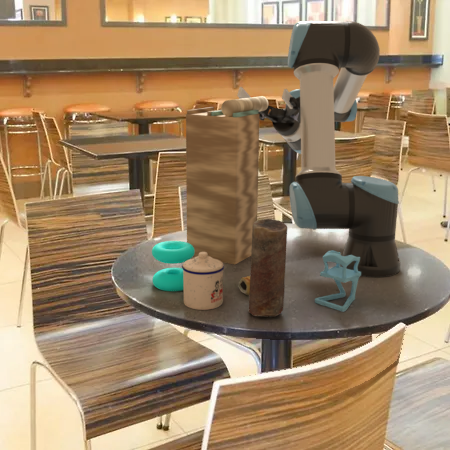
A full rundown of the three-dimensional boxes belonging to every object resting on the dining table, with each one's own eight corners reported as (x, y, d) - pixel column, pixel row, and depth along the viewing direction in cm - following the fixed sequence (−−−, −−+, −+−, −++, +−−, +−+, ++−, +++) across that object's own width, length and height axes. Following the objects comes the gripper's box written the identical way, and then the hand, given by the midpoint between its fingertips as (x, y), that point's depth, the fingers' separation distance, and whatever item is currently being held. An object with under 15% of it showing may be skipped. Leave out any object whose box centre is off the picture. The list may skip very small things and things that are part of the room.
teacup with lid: (219, 312, 140) (219, 260, 137) (177, 309, 141) (177, 257, 138) (229, 292, 151) (230, 244, 148) (191, 289, 153) (191, 241, 150)
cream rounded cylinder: (253, 107, 179) (258, 93, 177) (265, 113, 177) (270, 99, 176) (219, 112, 164) (224, 97, 162) (232, 119, 162) (237, 103, 161)
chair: (364, 301, 146) (367, 250, 143) (343, 312, 140) (346, 258, 137) (335, 293, 151) (337, 243, 148) (314, 302, 145) (316, 251, 142)
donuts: (197, 250, 149) (153, 252, 147) (197, 291, 151) (154, 294, 150) (191, 238, 158) (150, 240, 157) (191, 277, 161) (151, 279, 159)
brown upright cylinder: (283, 307, 142) (286, 218, 137) (285, 321, 135) (288, 228, 130) (248, 307, 143) (249, 218, 137) (248, 320, 136) (250, 227, 130)
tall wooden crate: (210, 244, 188) (210, 106, 178) (256, 252, 180) (259, 109, 170) (187, 255, 178) (185, 110, 168) (234, 264, 170) (236, 113, 160)
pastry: (272, 284, 157) (272, 269, 156) (284, 293, 151) (285, 278, 150) (236, 289, 154) (236, 273, 153) (247, 299, 148) (248, 283, 147)
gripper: (324, 139, 190) (300, 107, 172) (248, 133, 202) (218, 102, 184) (330, 116, 191) (307, 81, 173) (254, 111, 203) (225, 78, 185)
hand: (261, 92), depth 178 cm, fingers open, 13 cm apart
